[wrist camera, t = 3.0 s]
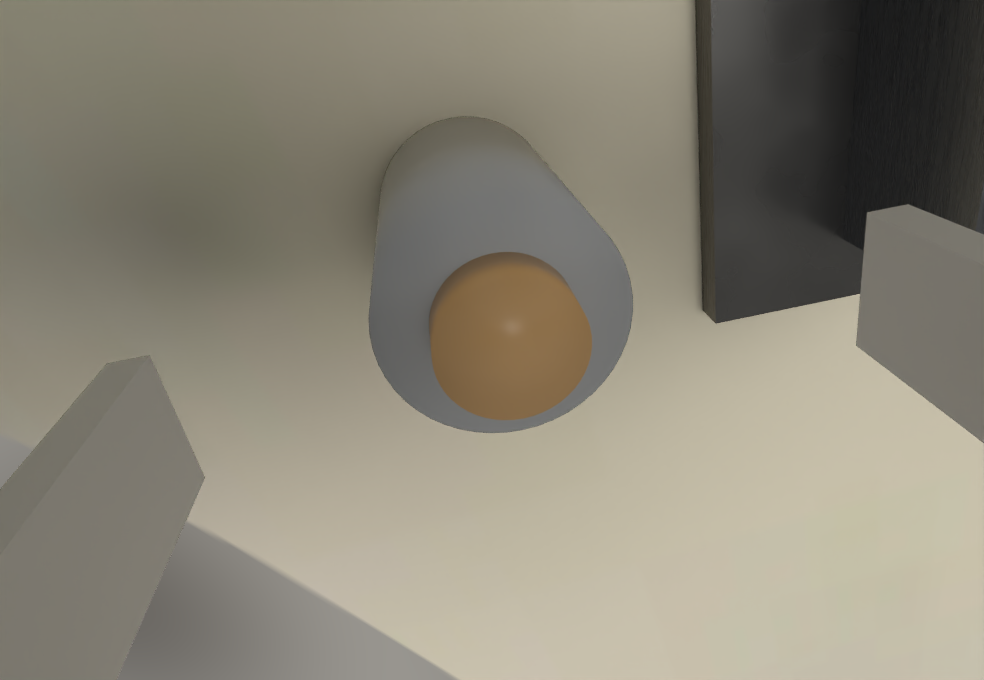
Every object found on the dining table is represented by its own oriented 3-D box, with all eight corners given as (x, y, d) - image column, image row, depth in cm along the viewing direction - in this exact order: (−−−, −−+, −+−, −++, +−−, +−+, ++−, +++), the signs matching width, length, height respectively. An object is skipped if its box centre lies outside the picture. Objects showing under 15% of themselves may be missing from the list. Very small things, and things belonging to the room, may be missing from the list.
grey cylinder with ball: (401, 299, 21) (402, 493, 13) (360, 135, 19) (330, 245, 11) (560, 267, 21) (660, 438, 13) (538, 100, 19) (644, 182, 11)
